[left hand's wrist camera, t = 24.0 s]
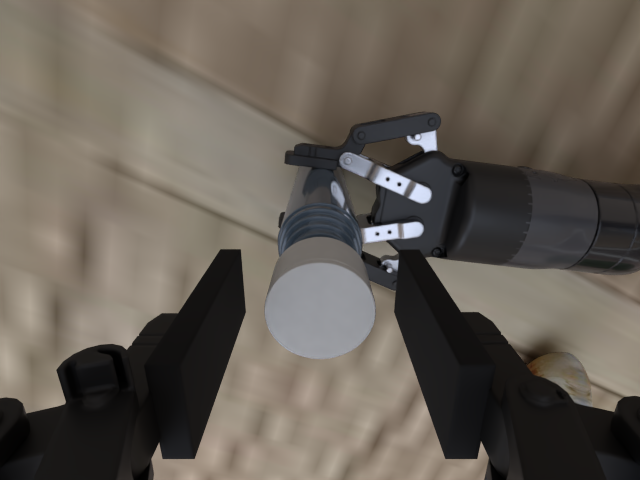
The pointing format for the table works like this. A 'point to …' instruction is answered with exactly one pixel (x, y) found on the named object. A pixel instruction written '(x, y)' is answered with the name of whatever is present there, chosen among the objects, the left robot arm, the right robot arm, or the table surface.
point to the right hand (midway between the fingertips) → (283, 189)
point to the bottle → (320, 210)
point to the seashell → (564, 375)
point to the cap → (320, 299)
